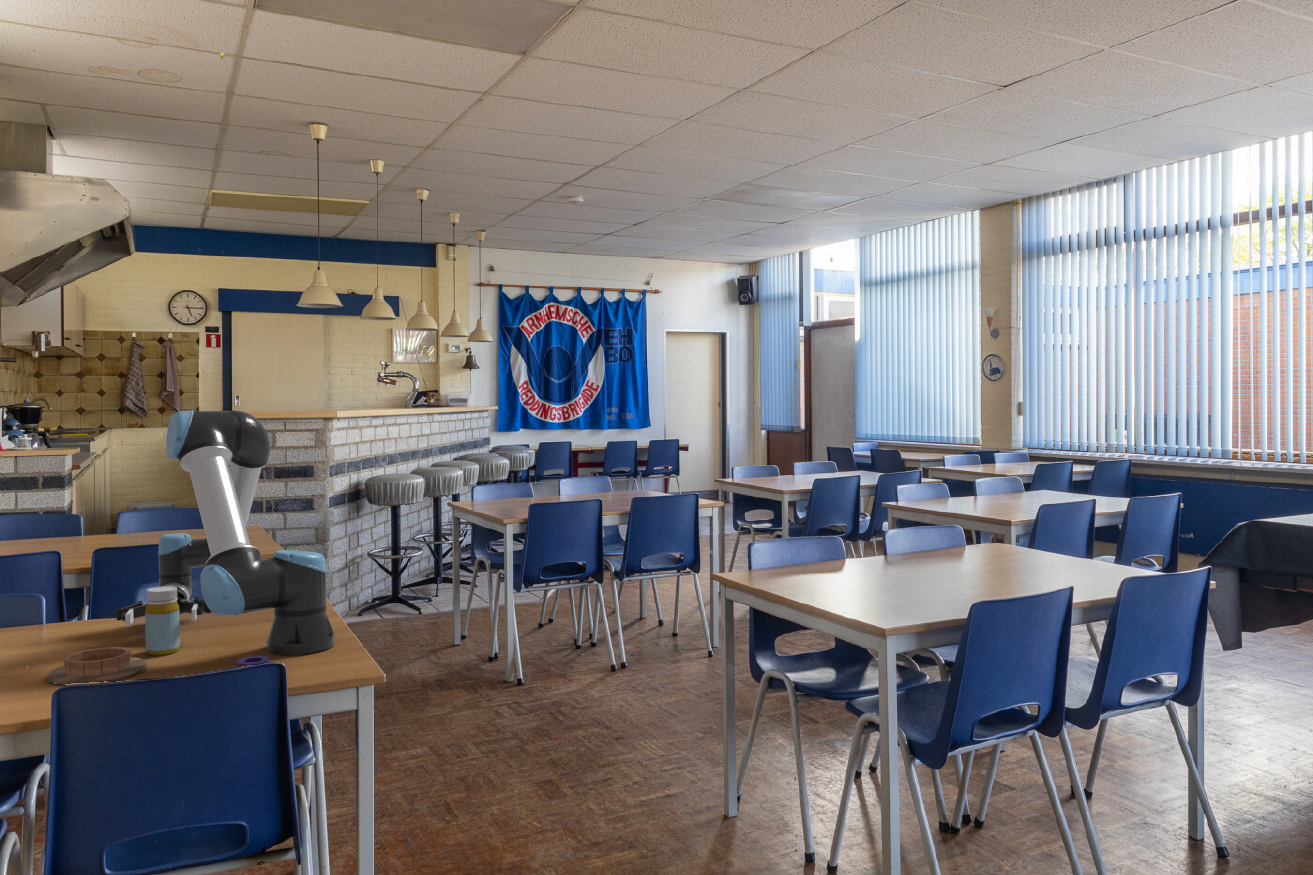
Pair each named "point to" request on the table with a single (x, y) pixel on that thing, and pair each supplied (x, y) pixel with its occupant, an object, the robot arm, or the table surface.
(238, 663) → the lever
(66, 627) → the table surface
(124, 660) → the bottle holder
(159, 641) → the bottle
